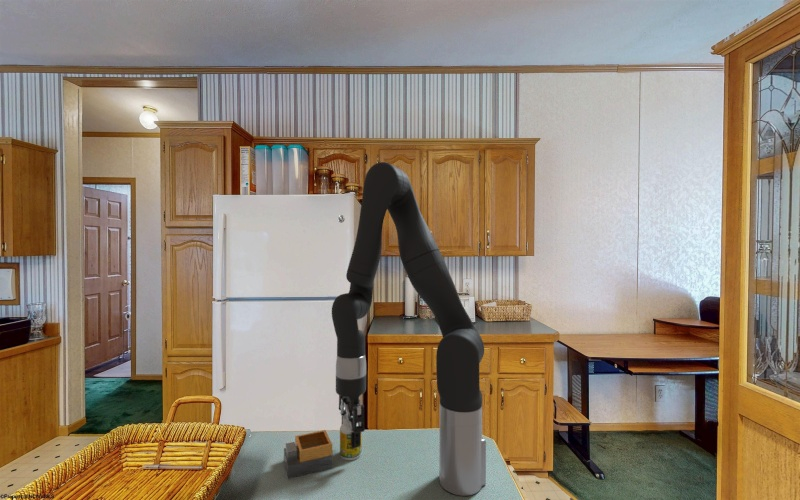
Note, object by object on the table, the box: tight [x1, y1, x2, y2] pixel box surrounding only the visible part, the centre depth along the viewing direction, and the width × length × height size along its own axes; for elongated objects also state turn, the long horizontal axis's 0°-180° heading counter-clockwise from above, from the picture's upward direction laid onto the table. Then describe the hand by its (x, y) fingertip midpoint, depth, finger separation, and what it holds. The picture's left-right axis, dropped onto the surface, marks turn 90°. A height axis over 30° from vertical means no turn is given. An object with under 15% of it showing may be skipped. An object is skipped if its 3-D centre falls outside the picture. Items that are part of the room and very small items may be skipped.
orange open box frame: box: [283, 429, 333, 480], centre depth 84 cm, size 10×8×6 cm
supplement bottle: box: [339, 414, 363, 461], centre depth 89 cm, size 5×5×10 cm
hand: (350, 438), depth 89 cm, fingers open, 8 cm apart
